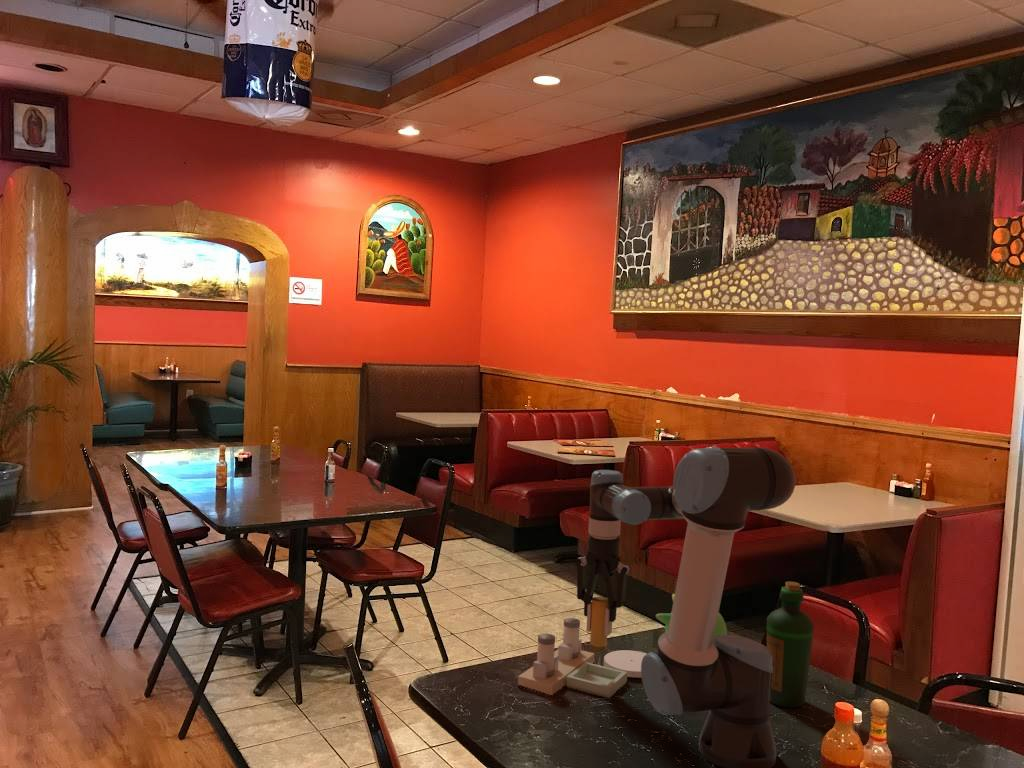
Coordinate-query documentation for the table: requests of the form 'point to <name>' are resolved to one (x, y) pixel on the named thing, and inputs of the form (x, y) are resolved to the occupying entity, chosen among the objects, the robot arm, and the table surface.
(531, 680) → the block
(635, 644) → the table surface
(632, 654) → the plastic lid
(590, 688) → the tray
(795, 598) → the bottle
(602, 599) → the cylinder
